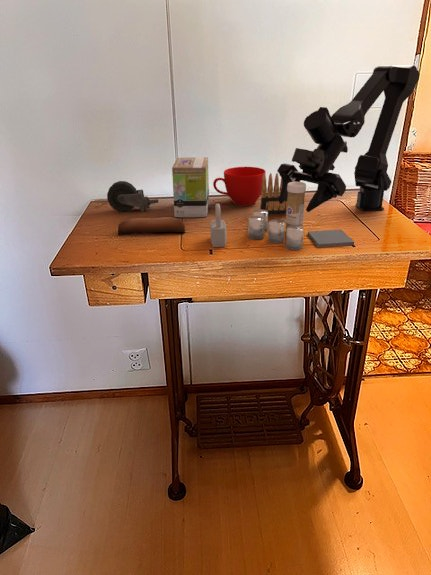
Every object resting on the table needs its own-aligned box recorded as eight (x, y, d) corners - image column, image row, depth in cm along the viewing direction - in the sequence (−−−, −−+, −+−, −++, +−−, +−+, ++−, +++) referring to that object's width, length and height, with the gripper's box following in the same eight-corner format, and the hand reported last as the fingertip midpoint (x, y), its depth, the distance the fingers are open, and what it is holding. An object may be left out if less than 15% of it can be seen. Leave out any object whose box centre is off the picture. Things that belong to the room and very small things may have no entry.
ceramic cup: (207, 201, 145) (205, 170, 141) (254, 195, 150) (254, 165, 146) (221, 212, 134) (221, 179, 130) (272, 205, 140) (273, 173, 135)
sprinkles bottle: (281, 235, 116) (283, 183, 110) (291, 230, 119) (293, 180, 113) (296, 238, 114) (300, 186, 108) (306, 233, 117) (309, 182, 111)
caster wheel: (110, 217, 137) (158, 210, 136) (102, 186, 132) (152, 179, 132) (113, 211, 142) (160, 205, 141) (106, 181, 137) (154, 174, 137)
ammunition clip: (295, 211, 133) (298, 171, 128) (296, 213, 132) (299, 172, 126) (259, 212, 133) (260, 172, 128) (260, 214, 132) (261, 174, 126)
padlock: (210, 237, 116) (209, 200, 112) (225, 237, 116) (225, 199, 112) (211, 247, 110) (209, 208, 106) (227, 247, 110) (226, 208, 106)
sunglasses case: (186, 223, 127) (184, 207, 121) (186, 242, 123) (184, 227, 117) (123, 224, 127) (118, 209, 121) (121, 244, 123) (116, 229, 117)
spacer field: (286, 225, 123) (287, 207, 120) (304, 250, 107) (305, 230, 105) (244, 228, 122) (244, 210, 120) (255, 253, 106) (256, 233, 104)
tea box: (208, 217, 131) (206, 166, 124) (173, 218, 131) (170, 167, 124) (209, 202, 144) (208, 155, 137) (178, 203, 144) (175, 156, 138)
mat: (341, 232, 117) (341, 229, 117) (353, 244, 109) (354, 241, 109) (307, 234, 116) (307, 231, 116) (318, 247, 108) (318, 244, 108)
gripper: (283, 131, 114) (251, 181, 113) (344, 139, 101) (308, 196, 100) (302, 158, 122) (272, 205, 121) (360, 168, 109) (327, 222, 108)
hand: (293, 206), depth 113 cm, fingers open, 9 cm apart
